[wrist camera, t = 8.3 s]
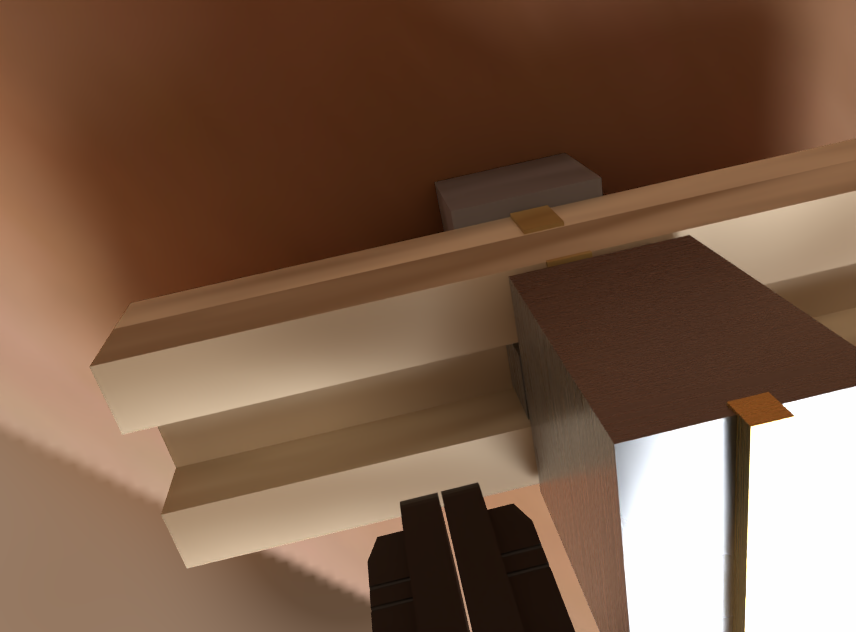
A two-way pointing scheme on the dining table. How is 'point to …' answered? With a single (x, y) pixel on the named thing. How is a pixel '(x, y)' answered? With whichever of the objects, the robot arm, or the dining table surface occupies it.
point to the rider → (690, 442)
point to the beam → (428, 342)
